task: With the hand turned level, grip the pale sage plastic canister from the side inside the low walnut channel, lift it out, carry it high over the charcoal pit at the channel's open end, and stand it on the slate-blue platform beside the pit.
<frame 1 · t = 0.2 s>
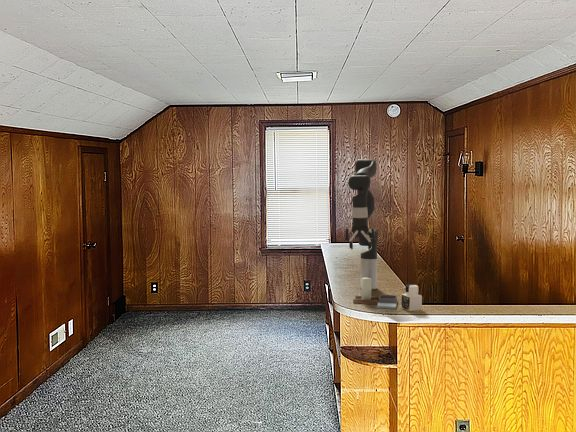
hand: (360, 249, 292), 29 cm above the table, tool pointing down, fingers open, 8 cm apart
slate-blue platform: (386, 306, 294), on the table
medicine bottle: (411, 309, 289), on the table
sage canister: (366, 301, 305), on the table
walnut channel: (366, 301, 305), on the table
charcoal pit: (387, 302, 303), on the table
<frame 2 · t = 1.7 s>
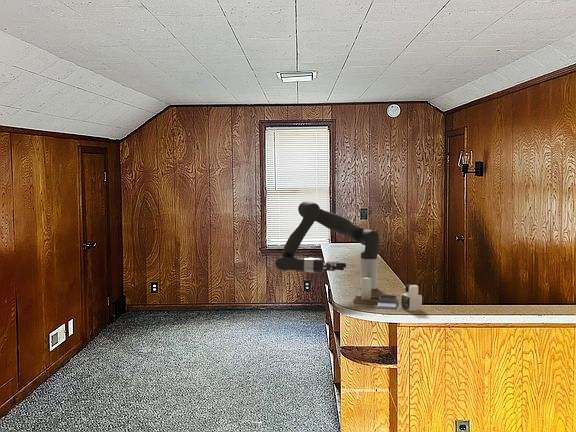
hand: (344, 266, 306), 18 cm above the table, tool horizontal, fingers open, 8 cm apart
nothing on the table moved.
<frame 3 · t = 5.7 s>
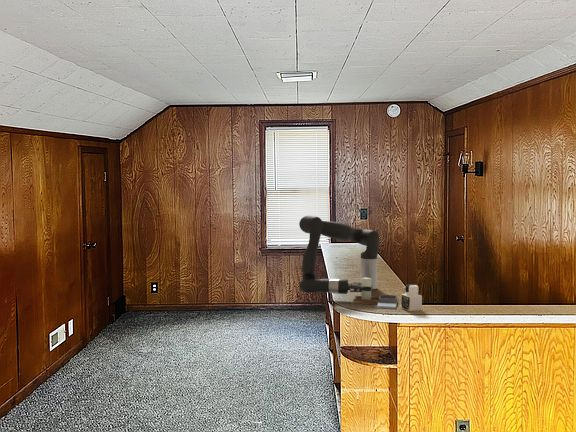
hand: (371, 287, 304), 7 cm above the table, tool horizontal, fingers closed on sage canister, 5 cm apart
sage canister: (366, 301, 305), on the table, touching gripper
everything else where it was.
when the fingers open (9 cm above the table, at t = 11.3 s): sage canister stays where it is, resting on slate-blue platform.
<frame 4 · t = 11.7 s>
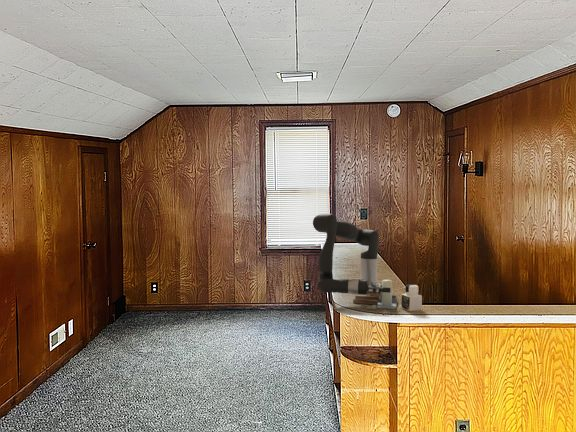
hand: (391, 288, 293), 9 cm above the table, tool horizontal, fingers open, 8 cm apart
sage canister: (386, 304, 294), point 1 cm above the table, touching slate-blue platform
everything else where it was.
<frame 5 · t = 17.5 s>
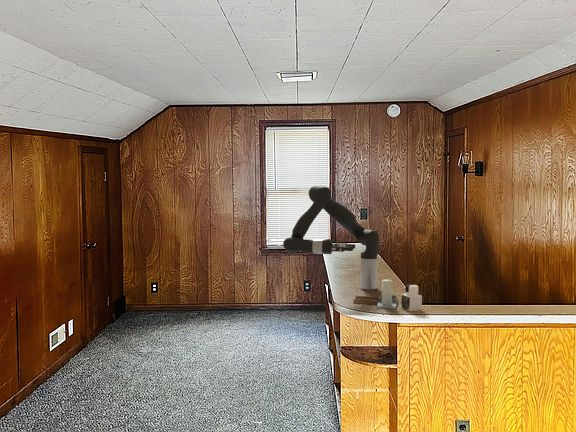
hand: (354, 247, 301), 28 cm above the table, tool horizontal, fingers open, 8 cm apart
nothing on the table moved.
at the end: sage canister 0.1 cm from the target spot, point 1.1 cm above the table; sage canister tilted 1°; sage canister touching slate-blue platform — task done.
